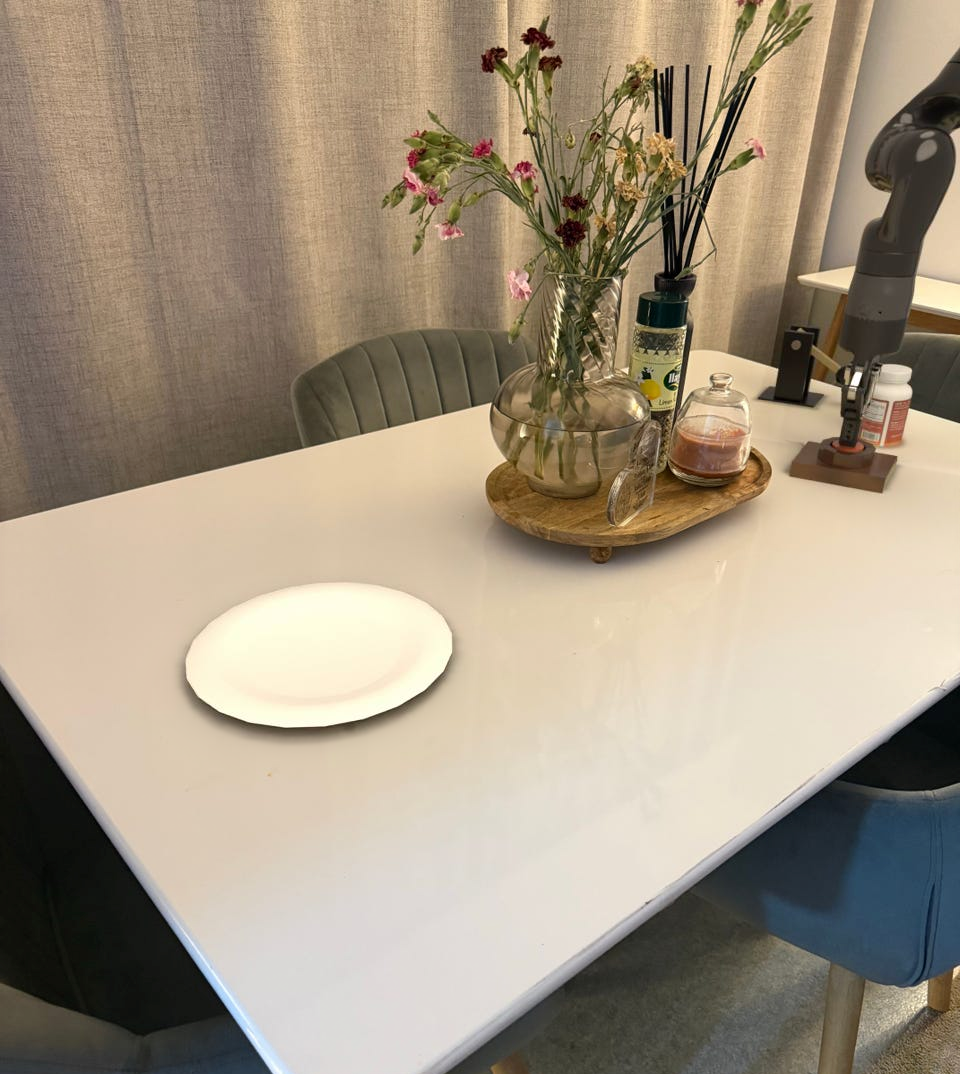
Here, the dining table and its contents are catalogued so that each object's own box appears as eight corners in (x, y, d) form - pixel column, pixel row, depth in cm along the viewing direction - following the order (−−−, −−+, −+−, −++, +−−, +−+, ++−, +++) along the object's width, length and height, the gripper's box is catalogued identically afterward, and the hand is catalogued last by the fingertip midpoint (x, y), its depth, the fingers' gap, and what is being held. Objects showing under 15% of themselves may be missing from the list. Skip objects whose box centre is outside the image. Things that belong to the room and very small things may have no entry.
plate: (385, 768, 74) (384, 751, 73) (130, 706, 81) (125, 690, 80) (490, 617, 94) (489, 603, 93) (276, 578, 101) (274, 565, 100)
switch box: (894, 471, 126) (901, 443, 123) (882, 494, 119) (889, 465, 117) (805, 455, 131) (810, 428, 129) (788, 476, 124) (794, 448, 122)
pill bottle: (895, 438, 136) (913, 363, 130) (903, 453, 131) (922, 375, 125) (851, 435, 137) (867, 361, 131) (858, 450, 132) (875, 373, 126)
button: (864, 454, 124) (866, 442, 123) (857, 464, 121) (860, 451, 120) (833, 449, 126) (836, 437, 125) (826, 459, 123) (829, 446, 122)
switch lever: (849, 387, 146) (863, 371, 144) (844, 392, 144) (859, 376, 142) (789, 341, 148) (802, 324, 145) (784, 346, 145) (797, 329, 143)
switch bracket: (822, 401, 151) (837, 327, 145) (812, 413, 146) (826, 337, 140) (768, 393, 155) (779, 321, 149) (756, 404, 150) (768, 330, 144)
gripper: (899, 325, 107) (867, 466, 116) (917, 303, 117) (886, 434, 126) (833, 318, 110) (806, 455, 119) (856, 296, 120) (830, 425, 129)
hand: (847, 444), depth 123 cm, fingers closed
